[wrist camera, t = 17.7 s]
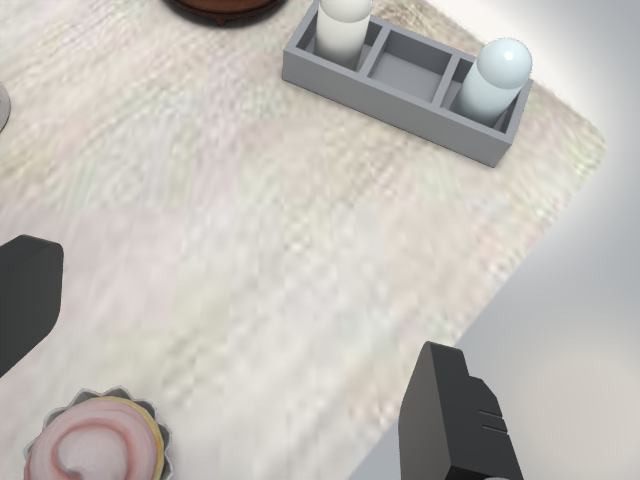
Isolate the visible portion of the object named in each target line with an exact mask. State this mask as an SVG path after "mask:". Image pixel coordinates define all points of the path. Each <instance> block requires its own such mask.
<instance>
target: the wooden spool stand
mask: <svg viewBox="0 0 640 480" xmlns="http://www.w3.org/2000/svg"><path fill="white" fill-rule="evenodd" d="M170 1H172V2H173V3H174V4H176V5H177V6H179V7H181V8H182V9H184V10H186V11H189V12H191V13H194V14H197V15H200V16H204V17H208V18H215V19H216V21H217V23H218V24H219V25H220V26H223V25H224V24H225V21H226V19H239V18H245V17H250V16H253V15H257V14H259V13H262V12H264V11H266V10H268V9H270V8H272V7H273V6H275V5H276V4H277V3H279V2H280V1H281V0H170Z"/></svg>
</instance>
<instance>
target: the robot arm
mask: <svg viewBox="0 0 640 480" xmlns="http://www.w3.org/2000/svg"><path fill="white" fill-rule="evenodd" d="M9 111H10V101H9V96H8V94H7V92H6V90H5V88H4V86H3V85H2V84H1V82H0V131H1V129H2V128H3V126H4V125H5V123H6V121H7V118H8V116H9ZM63 258H64V253H63V248H62V246H61V245H60V244H59V243H55V242H52V241H48V240H44V239H40V238H36V237H33V236H29V235H20V236H18V237H16V238H15V239H13V240H11V241H9V242H7V243H6V244H4V245H2V246H0V378H1V377H2V376H3V375H4V374H5V373H6V372H8V371H9V370H10V369H11V368H12V367H13V366H14V365H15V364H16V363H17V362H19V361H20V360H21V359H22V358H23V357H24V356H25V355H26V354H27V353H28V352H30V351H31V350H32V349H33V348H34V347H35V346H36V345H37V344H38V343H39V342H41V341H42V340H43V339H44V338H45V337H46V336H47V335H48V334H49V333H50V332H51V330H52V329H53V327H54V325H55V323H56V321H57V319H58V316H59V312H60V306H61V290H62V274H63ZM398 425H399V426H398V431H399V449H400V465H401V466H400V467H401V480H524V479H523V476H522V473H521V470H520V467H519V464H518V461H517V458H516V455H515V452H514V449H513V446H512V443H511V440H510V437H509V435H507V428H506V425H505V422H504V420H503V419H502V413H501V410H500V407H499V404H498V401H497V398H496V396H495V395H494V394H493V393H492V391H491V390H490V389H489V388H488V387H487V385H486V384H485V383H484V382H483V380H482V379H479V378H475V377H472V376H469V373H468V369H467V366H466V363H465V358H464V355H463V352H462V350H460V349H456V348H453V347H449V346H445V345H441V344H437V343H434V342H430V341H427V342H425V344H424V345H423V347H422V349H421V352H420V355H419V357H418V360H417V363H416V366H415V368H414V371H413V374H412V376H411V379H410V382H409V385H408V387H407V390H406V393H405V395H404V398H403V401H402V405H401V409H400V415H399V424H398Z"/></svg>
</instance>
